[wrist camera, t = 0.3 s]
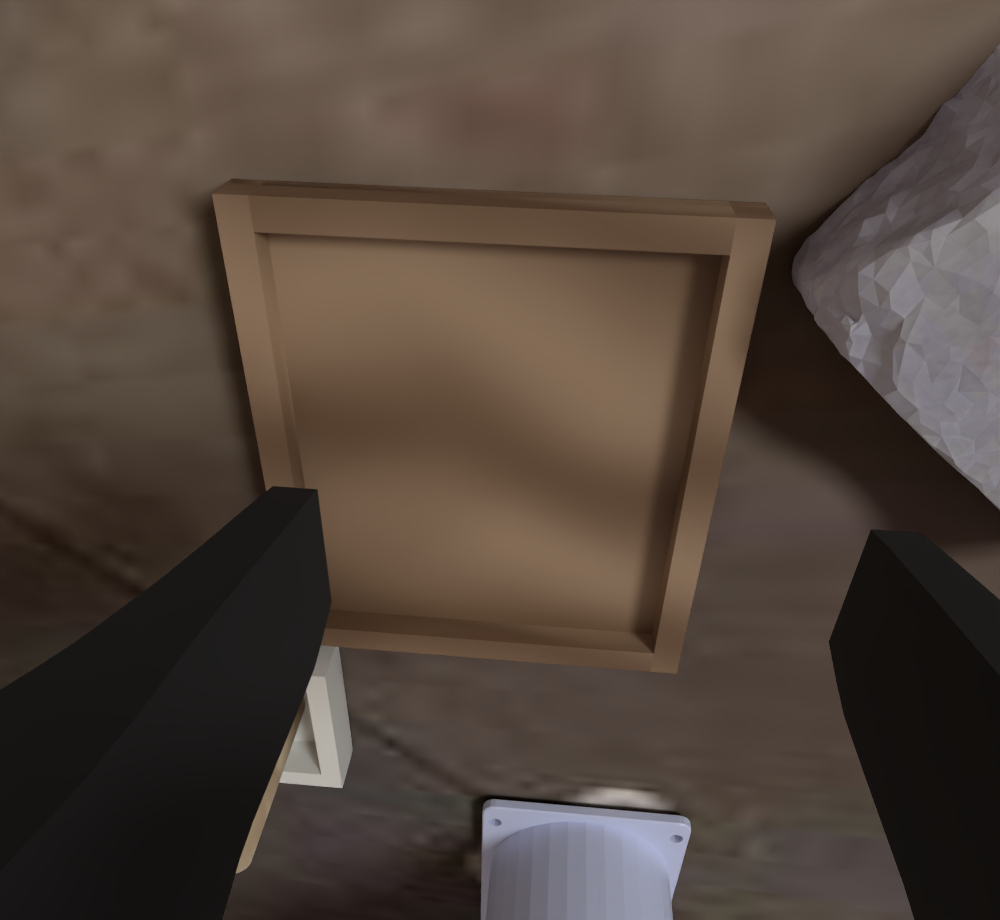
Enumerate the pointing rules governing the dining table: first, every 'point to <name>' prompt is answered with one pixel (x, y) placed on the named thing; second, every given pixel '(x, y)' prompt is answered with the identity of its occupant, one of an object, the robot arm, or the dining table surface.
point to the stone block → (925, 281)
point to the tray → (497, 404)
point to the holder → (322, 728)
